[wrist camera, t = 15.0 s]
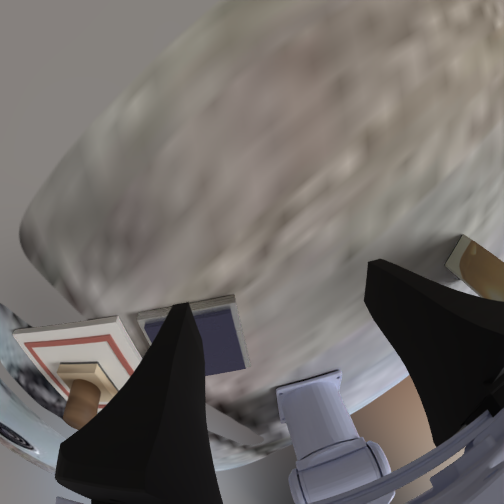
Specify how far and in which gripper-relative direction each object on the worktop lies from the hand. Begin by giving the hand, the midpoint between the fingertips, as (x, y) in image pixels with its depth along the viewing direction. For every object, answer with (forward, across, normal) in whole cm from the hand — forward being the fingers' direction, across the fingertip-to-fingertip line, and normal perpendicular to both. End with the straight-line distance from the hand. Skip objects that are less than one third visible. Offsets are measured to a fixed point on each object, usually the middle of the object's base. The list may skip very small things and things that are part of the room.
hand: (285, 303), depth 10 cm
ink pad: (+9, +6, +10) cm, 15 cm away
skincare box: (+10, -24, +9) cm, 27 cm away
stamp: (+9, +19, +13) cm, 25 cm away
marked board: (+9, +19, +13) cm, 25 cm away
